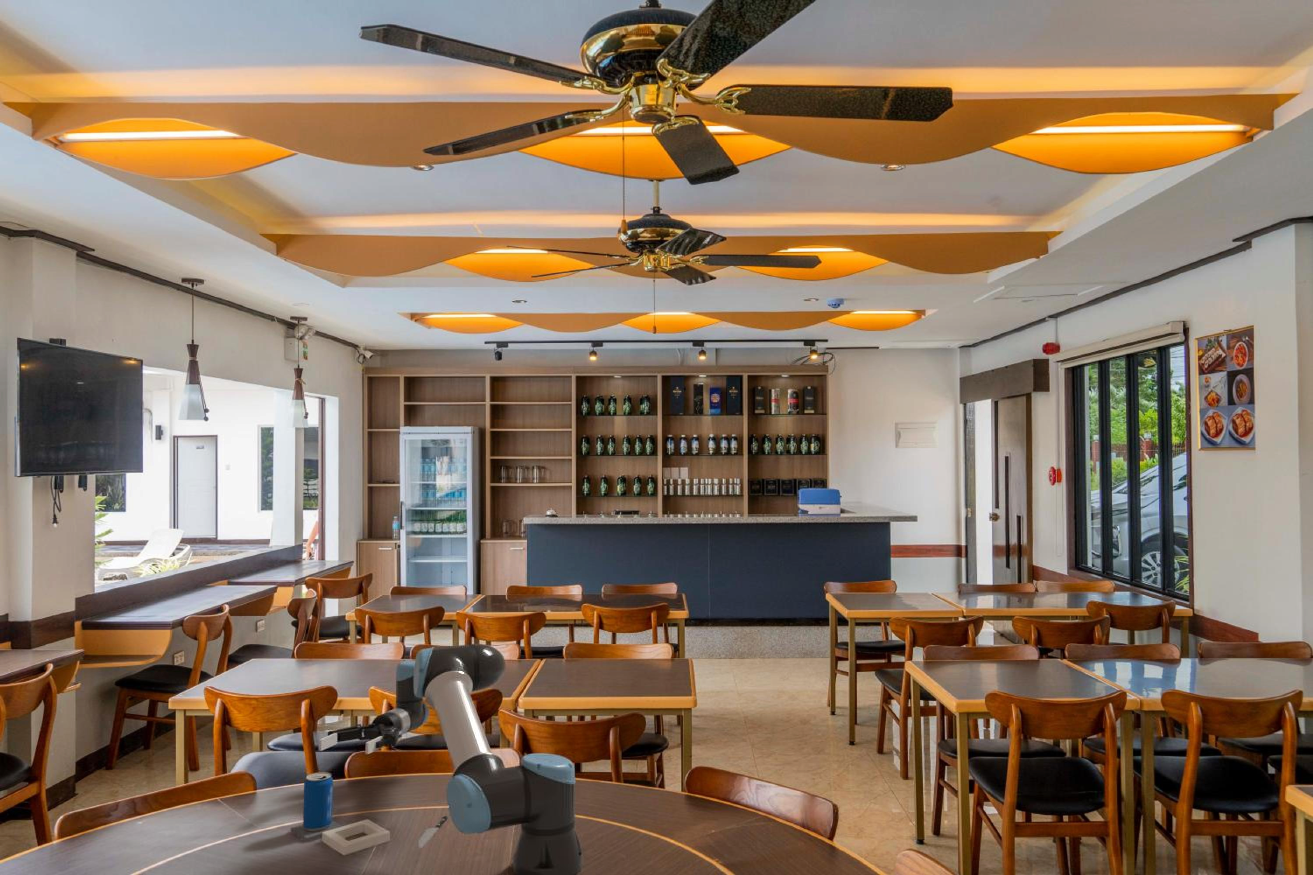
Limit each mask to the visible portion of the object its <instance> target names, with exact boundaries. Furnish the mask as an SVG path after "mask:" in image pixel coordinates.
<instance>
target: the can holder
mask: <svg viewBox="0 0 1313 875" xmlns="http://www.w3.org/2000/svg"><path fill="white" fill-rule="evenodd" d="M341 826H342V827H339V828H335V829H332V830H329V831H325V832H322V838H321V840H322V841H321V842H323V843H325V844H326V845H327V846H328V847H330V848H331V849H333V850H335V851H336V852H338V853H339V854H341V855H343V856H347V855H350V854H352V853H356V852H359V851H362V850H364V849H368V848H371V847H374V846H378V845H380V844H383V843H385V844H386V843H388V842H390V840H391V831H389V830H387V829H386V828H383V827H382V826H380V825H379V824H377V823H375V822H373V821H372V820H370V819H368V818H366V819H364V820H363V819H362V820H360V821H356V822H354V823H353V822H352V823H349V824H347V825H341ZM362 833H364V834H365V835H364V836H361V837H358V838H354V839H351V840H350V839H349V840H347V839H346V838H350V837H352V836H354V835H358V834H362Z"/></svg>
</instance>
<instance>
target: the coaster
mask: <svg viewBox="0 0 1313 875" xmlns="http://www.w3.org/2000/svg"><path fill="white" fill-rule="evenodd" d="M342 826H343V825H341V824H339V823H337V822H336V821H335V820H333V819H332V823H331V824H330V825H329V826H328V827H327V828H326V829H323V830H320V831H308V830H307V829H306V828H304V827H303V823H302V824H298V825H295V826H291V827H290V832H291V833H292V834H293V833H294V834H293V835H294V836H296V837H298V838H299V839H301V840H302V841H304V842H305V843H309V842H313V841H315V840H319V839H322V832H325V831H329V830H332V829H335V828H339V827H342Z"/></svg>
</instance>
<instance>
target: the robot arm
mask: <svg viewBox="0 0 1313 875" xmlns="http://www.w3.org/2000/svg"><path fill="white" fill-rule="evenodd" d="M395 671H396V673H395V708H392V709H391V710H388V711H386V712H383V713H382V714H379V715H377V716H376V717H374V719H373V720H372V722H371V723H369V724H367V725H362V723H361V724H360V723H358V724H356V725H352V726H347V727H343V728H339V729H334V730H329V731H327V736H325V737H322V738H320V739H318V751H321V752H322V751H325V750H326V749H329V748H331V747H333V746H335V745H338V743H341V742H346V741H353V740H359V741H365V740H368V741H367V742H365V755H369V754H371V753H373V752H376V751H378V750H380V749H381V748H384V747H386V748H387V747H389V745H391V747H396V746H397V744H398V741H399V739H401V738H402V736H403V735H405V734H407V733H409V732H411V731H415V730H417V729H418V728H420V727H422V726H423V725H424V724H425V723H426V722H427V721H428V719H429V716H430V710H429V707H431V708H432V709H435V712H436V716H437V718H438V720H439V721H438V722H439V724H440V728H441V730H442V734H443V737H444V738H443V739H444V741H445V744H446V747H447V751H448V754H449V756H450V759H451V762H452V765H453V768H454V770H453V772H452V775H451V778H450V779H449V780H448V784H447V787H446V802H447V805H448V813H449V816H450V820H451V821H452V823H453V825H454V827H455V829H456V830H457V831H458V832H459V833H461V834H464V835H471V834H483V833H485V832H489V831H495V830H499V829H504V828H508V827H514V826H519V825H520V834H519V837H518V840H517V844H516V847H515V851H514V853H513V857H512V871H513V873H514V874H515V875H576V874H578V873H579V872H580V871H581V870H582V869H583V865H584V863H583V862H584V857H583V856H584V855H583V851H582V849H581V845H580V841H579V837H578V834H577V831H576V827H575V826H576V822H575V821H576V819H575V818H576V811H575V810H576V783H577V781H576V776H575V775H576V772H575V765H574V763H573V762H572V761H571V760H570V759H568V758H567V757H564V756H562V755H558V754H552V753H545V752H544V753H543V752H542V753H540V752H539V753H537V752H536V753H528V754H526V755H524V756H522V758H521V761H520V765H515V766H507V767H506V766H505V764H504V762H503V759H502V758H501V757H500V756H499V755H497V754H495V753H493V752H492V749H491V747H490V745H489V742H488V739H487V737H486V734H485V731H484V728H483V725H482V723H481V720H480V717H479V715H478V711H477V710H476V709H477V708H476V707H475V704H474V702H473V699H472V696H471V693H472V692H477V691H481V690H485V689H488V688H491V687H493V686H495V685H497V683H498V682H500V681H501V680H502V679H503V677H504V676H505V675H504V674H505V671H506V659H505V657H504V656H503V654H502V652H500V651H499V650H498V649H497V648H495V647H493V646H491V645H488V644H484V643H471V644H460V645H447V646H446V645H445V646H432V647H430V648H429V647H428V648H423V649H420V650H419V651H418V652H417V653H416V656H415V659H414V660H403V661H401V662H398V664H397V666H396V670H395ZM424 698H425V701H426V702H425V701H424ZM428 706H429V707H428Z"/></svg>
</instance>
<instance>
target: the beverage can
mask: <svg viewBox="0 0 1313 875" xmlns="http://www.w3.org/2000/svg"><path fill="white" fill-rule="evenodd" d="M333 788H334V779H333V776H332V773H330V772H326V771H322V772H321V771H320V772H315V773H314V772H313V773H311V774H308V775H306V778H305V780H304V784H303V813H302V814H303V816H302V818H303V821H302V824H303V827H304V828H306V829H307V830H308V831H320V830H323V829H326V828H327V827H328V826H329V825H330V824H331V823H332V820H333V800H334V799H333V798H334V796H333V793H334V789H333Z"/></svg>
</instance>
